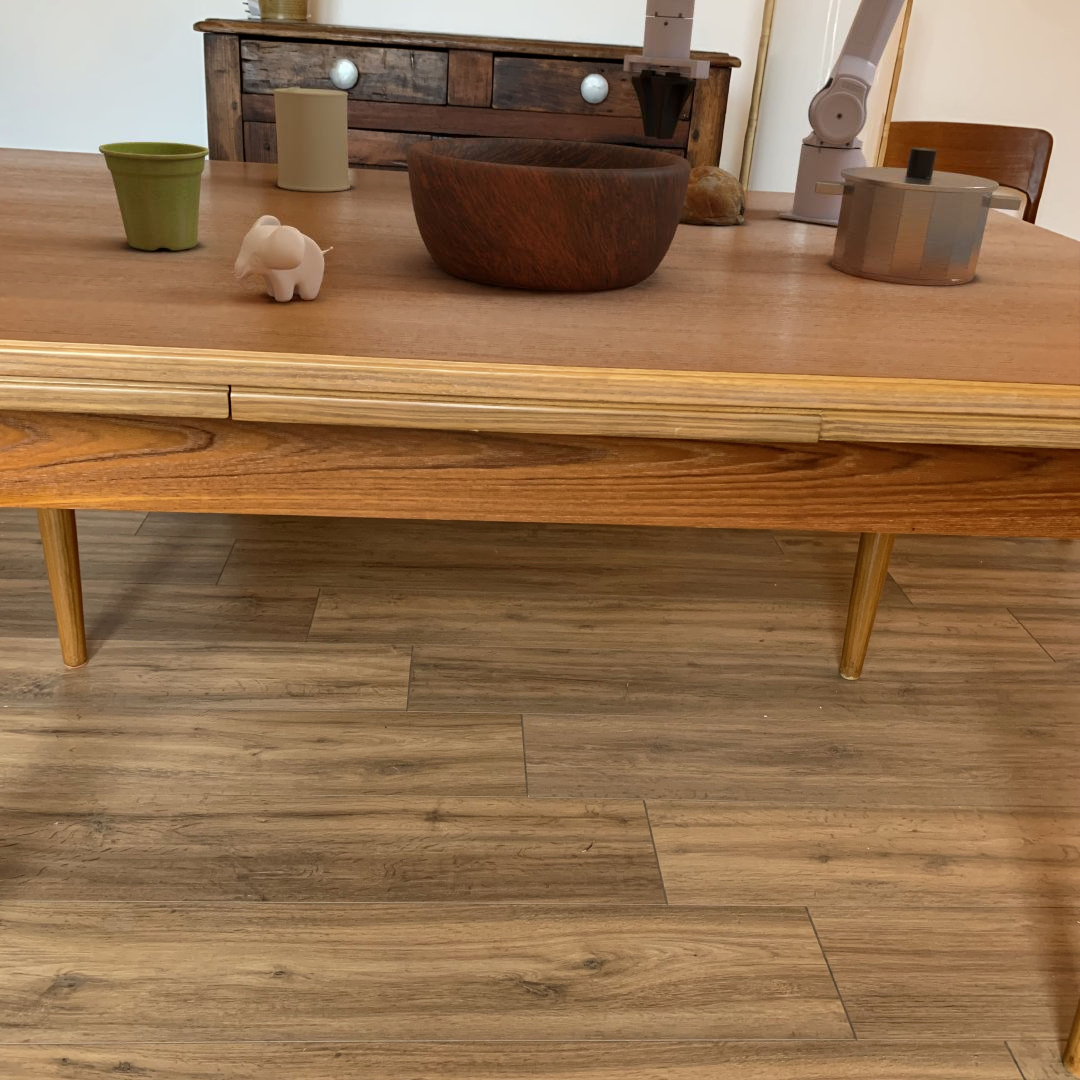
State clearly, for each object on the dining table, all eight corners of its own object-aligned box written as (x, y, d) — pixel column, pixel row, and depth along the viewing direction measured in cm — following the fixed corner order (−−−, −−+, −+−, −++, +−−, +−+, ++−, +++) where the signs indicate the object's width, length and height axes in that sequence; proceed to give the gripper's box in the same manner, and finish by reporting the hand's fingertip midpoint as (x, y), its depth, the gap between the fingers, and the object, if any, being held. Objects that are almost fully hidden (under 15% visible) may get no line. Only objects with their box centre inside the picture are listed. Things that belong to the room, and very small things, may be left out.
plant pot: (237, 244, 104) (230, 148, 100) (167, 260, 96) (157, 156, 92) (160, 233, 107) (151, 139, 104) (87, 246, 99) (74, 146, 96)
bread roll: (722, 258, 130) (760, 197, 126) (648, 213, 129) (684, 151, 126) (726, 244, 138) (761, 187, 135) (657, 202, 138) (690, 144, 134)
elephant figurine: (222, 292, 86) (216, 214, 84) (320, 285, 90) (317, 211, 87) (246, 311, 81) (241, 229, 78) (349, 304, 85) (347, 225, 82)
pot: (808, 250, 117) (821, 167, 114) (994, 268, 113) (1014, 182, 109) (800, 273, 105) (814, 181, 102) (1008, 294, 101) (1030, 199, 97)
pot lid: (841, 174, 114) (847, 137, 112) (989, 186, 111) (997, 148, 109) (837, 190, 101) (843, 149, 100) (1003, 204, 98) (1013, 162, 96)
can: (264, 183, 142) (258, 83, 137) (325, 180, 147) (322, 84, 142) (302, 193, 136) (298, 89, 131) (364, 189, 141) (362, 89, 136)
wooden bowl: (640, 246, 114) (649, 142, 109) (715, 302, 92) (731, 174, 87) (399, 242, 109) (398, 133, 105) (417, 299, 87) (417, 164, 83)
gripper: (607, 14, 135) (599, 131, 140) (680, 17, 124) (668, 144, 129) (653, 17, 138) (643, 131, 144) (728, 20, 127) (714, 144, 133)
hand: (658, 137), depth 137 cm, fingers closed
